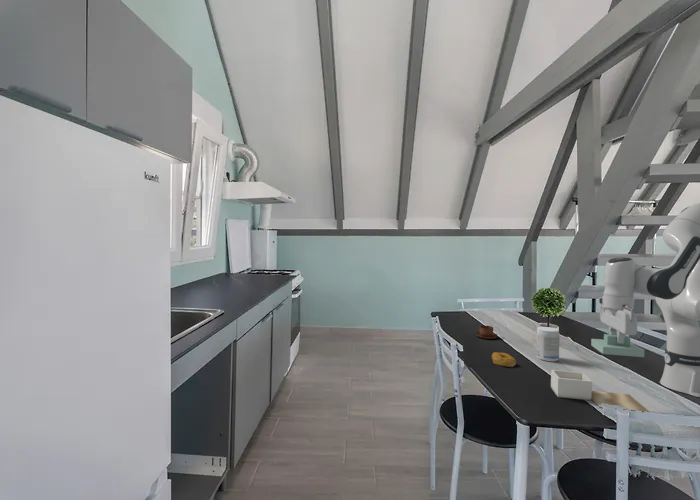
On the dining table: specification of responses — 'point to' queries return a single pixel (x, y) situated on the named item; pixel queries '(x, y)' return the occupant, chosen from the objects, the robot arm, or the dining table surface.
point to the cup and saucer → (486, 332)
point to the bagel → (503, 359)
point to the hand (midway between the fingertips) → (616, 341)
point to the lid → (617, 346)
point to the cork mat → (617, 400)
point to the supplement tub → (548, 343)
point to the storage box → (571, 384)
